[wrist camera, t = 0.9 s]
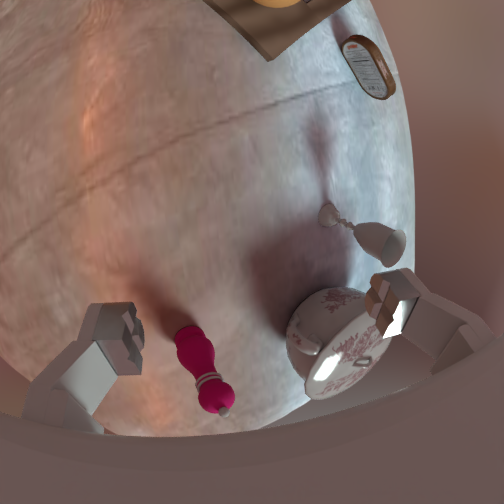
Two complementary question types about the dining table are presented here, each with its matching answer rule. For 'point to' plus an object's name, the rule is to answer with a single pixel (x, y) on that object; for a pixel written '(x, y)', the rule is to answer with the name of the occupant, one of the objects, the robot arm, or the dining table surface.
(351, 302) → the chamber pot
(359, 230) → the chalice
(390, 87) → the tin
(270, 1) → the ball
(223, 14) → the board
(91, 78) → the dining table surface
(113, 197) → the dining table surface
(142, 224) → the dining table surface
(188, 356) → the pepper mill
